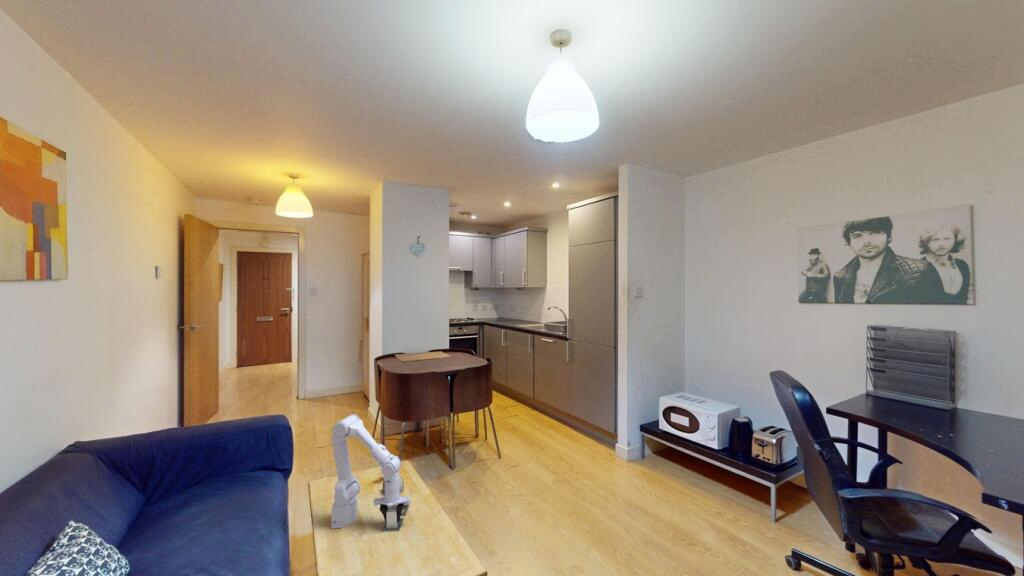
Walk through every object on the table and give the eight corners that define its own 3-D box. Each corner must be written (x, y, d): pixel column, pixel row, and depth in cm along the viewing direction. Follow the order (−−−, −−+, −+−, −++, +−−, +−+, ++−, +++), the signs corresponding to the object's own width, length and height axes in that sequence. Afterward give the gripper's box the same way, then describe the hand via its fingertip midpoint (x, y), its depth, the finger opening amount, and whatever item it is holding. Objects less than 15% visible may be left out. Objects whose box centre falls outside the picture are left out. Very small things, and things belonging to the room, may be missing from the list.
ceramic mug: (405, 494, 186) (404, 477, 186) (388, 500, 181) (387, 483, 181) (396, 485, 195) (395, 469, 195) (379, 491, 189) (379, 475, 189)
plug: (386, 528, 159) (386, 510, 159) (389, 522, 163) (389, 504, 163) (396, 528, 159) (396, 509, 159) (399, 521, 163) (399, 504, 163)
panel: (378, 535, 157) (378, 530, 157) (391, 508, 175) (391, 504, 174) (401, 534, 157) (401, 529, 157) (411, 508, 175) (411, 503, 175)
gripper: (370, 494, 156) (371, 528, 156) (407, 493, 156) (408, 527, 157) (376, 485, 163) (377, 517, 163) (411, 484, 164) (412, 516, 164)
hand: (392, 521), depth 161 cm, fingers closed on plug, 4 cm apart
